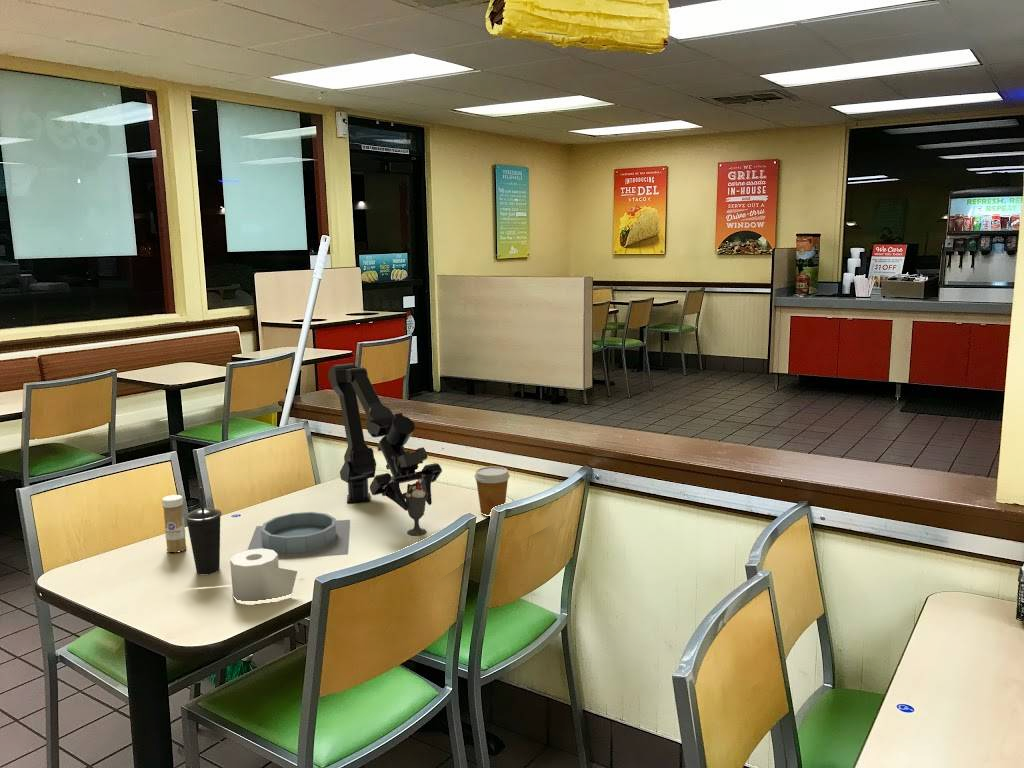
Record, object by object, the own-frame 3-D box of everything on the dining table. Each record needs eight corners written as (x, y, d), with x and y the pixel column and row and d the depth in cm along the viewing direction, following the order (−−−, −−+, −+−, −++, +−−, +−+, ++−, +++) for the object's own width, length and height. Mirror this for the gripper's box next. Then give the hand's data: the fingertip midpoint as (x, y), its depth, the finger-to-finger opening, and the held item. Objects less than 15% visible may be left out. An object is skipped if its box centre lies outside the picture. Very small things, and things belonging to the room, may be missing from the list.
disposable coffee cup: (517, 512, 217) (516, 470, 215) (492, 522, 210) (492, 478, 208) (492, 505, 223) (491, 463, 221) (467, 514, 216) (466, 471, 214)
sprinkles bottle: (165, 555, 191) (160, 501, 188) (167, 548, 195) (162, 495, 193) (186, 552, 192) (181, 499, 190) (188, 545, 196) (183, 493, 194)
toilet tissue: (299, 599, 166) (296, 560, 165) (231, 607, 163) (228, 568, 161) (298, 581, 175) (295, 544, 173) (234, 589, 171) (231, 551, 170)
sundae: (428, 537, 200) (426, 479, 197) (401, 537, 200) (399, 479, 197) (431, 527, 206) (430, 471, 204) (405, 527, 207) (404, 471, 204)
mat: (256, 527, 208) (256, 526, 208) (350, 521, 212) (350, 519, 212) (242, 564, 185) (242, 562, 185) (348, 555, 189) (347, 554, 189)
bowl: (267, 529, 205) (266, 514, 205) (337, 524, 208) (336, 510, 208) (258, 555, 188) (257, 539, 188) (334, 550, 191) (333, 534, 191)
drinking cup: (217, 562, 186) (210, 479, 182) (232, 571, 181) (225, 486, 177) (184, 572, 181) (176, 487, 177) (198, 581, 175) (191, 494, 172)
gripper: (372, 444, 197) (396, 498, 190) (437, 432, 208) (461, 483, 201) (359, 468, 204) (382, 521, 198) (422, 455, 215) (445, 505, 209)
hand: (418, 507), depth 201 cm, fingers closed on sundae, 6 cm apart
